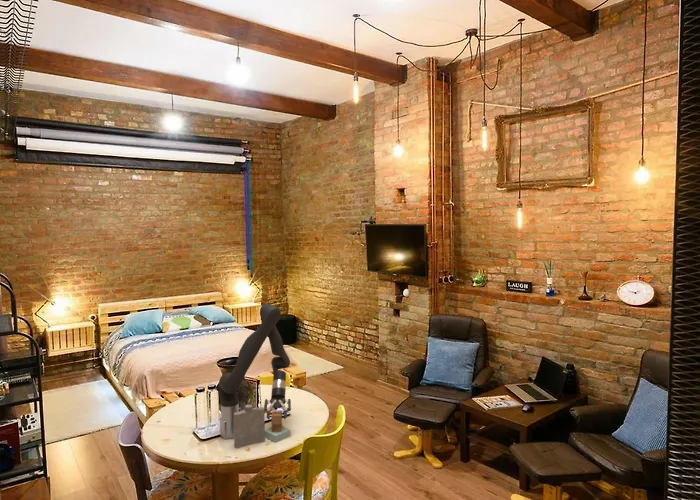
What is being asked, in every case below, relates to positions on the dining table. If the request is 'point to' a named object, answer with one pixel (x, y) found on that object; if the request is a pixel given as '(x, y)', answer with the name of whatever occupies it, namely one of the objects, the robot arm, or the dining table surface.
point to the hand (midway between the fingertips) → (276, 418)
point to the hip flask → (249, 426)
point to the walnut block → (276, 421)
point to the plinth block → (277, 434)
